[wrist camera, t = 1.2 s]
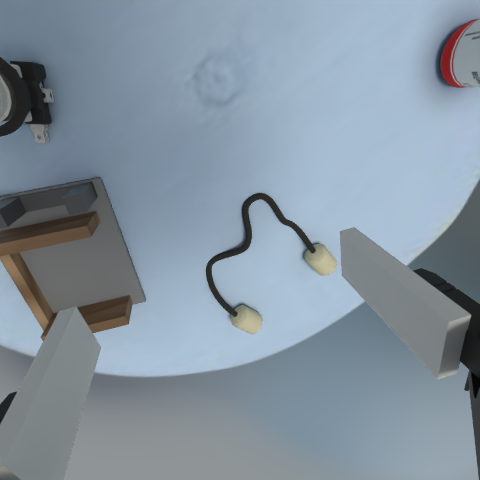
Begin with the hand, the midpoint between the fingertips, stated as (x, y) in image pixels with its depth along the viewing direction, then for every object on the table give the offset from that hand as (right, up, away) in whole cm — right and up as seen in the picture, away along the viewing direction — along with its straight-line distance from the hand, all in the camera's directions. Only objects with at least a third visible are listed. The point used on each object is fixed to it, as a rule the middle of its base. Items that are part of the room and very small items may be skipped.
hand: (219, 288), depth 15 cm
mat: (-18, +1, +19) cm, 26 cm away
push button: (-17, +15, +12) cm, 26 cm away
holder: (-18, -1, +20) cm, 26 cm away
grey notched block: (-18, +7, +16) cm, 25 cm away
